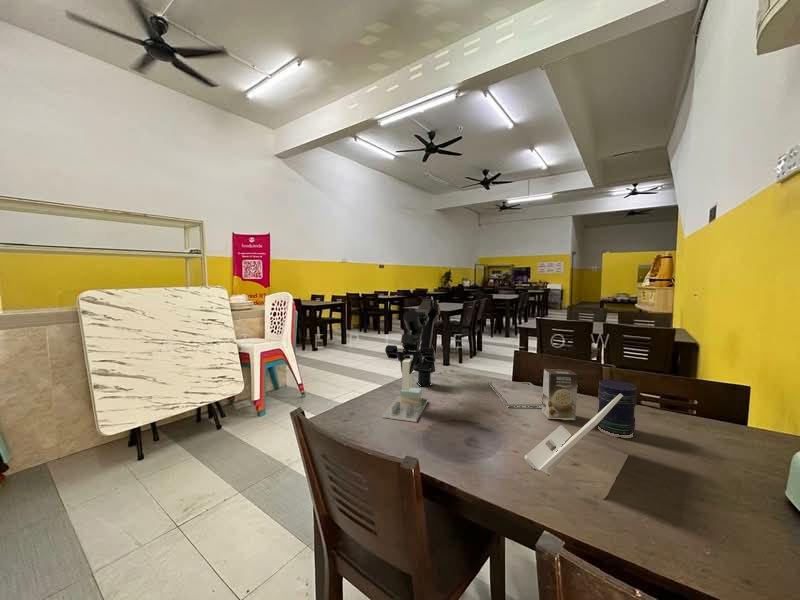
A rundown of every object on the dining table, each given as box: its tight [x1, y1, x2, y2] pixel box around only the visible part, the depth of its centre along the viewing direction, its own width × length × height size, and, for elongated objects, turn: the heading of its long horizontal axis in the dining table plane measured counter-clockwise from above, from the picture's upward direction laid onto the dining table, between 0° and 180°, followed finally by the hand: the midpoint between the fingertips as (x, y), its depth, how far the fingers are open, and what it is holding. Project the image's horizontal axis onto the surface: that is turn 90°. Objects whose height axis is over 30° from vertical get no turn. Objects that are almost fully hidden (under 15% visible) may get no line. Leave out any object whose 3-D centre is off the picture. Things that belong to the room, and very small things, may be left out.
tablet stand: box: [524, 393, 623, 474], centre depth 83 cm, size 18×25×17 cm
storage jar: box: [596, 379, 638, 435], centre depth 99 cm, size 10×10×15 cm
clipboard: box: [487, 381, 542, 407], centre depth 132 cm, size 19×2×30 cm
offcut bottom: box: [400, 394, 422, 403], centre depth 122 cm, size 5×7×2 cm
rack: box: [381, 395, 429, 423], centre depth 116 cm, size 19×12×3 cm, turn 163°
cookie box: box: [541, 368, 579, 420], centre depth 110 cm, size 9×6×16 cm
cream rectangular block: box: [401, 358, 413, 391], centre depth 116 cm, size 4×2×10 cm, turn 163°
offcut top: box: [400, 387, 423, 398], centre depth 122 cm, size 5×7×2 cm
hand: (406, 373), depth 114 cm, fingers closed on cream rectangular block, 2 cm apart
